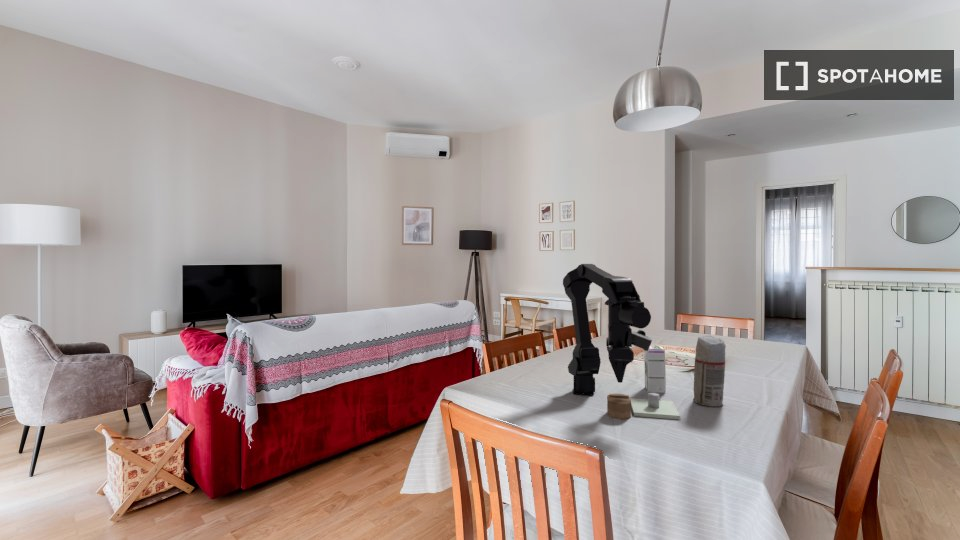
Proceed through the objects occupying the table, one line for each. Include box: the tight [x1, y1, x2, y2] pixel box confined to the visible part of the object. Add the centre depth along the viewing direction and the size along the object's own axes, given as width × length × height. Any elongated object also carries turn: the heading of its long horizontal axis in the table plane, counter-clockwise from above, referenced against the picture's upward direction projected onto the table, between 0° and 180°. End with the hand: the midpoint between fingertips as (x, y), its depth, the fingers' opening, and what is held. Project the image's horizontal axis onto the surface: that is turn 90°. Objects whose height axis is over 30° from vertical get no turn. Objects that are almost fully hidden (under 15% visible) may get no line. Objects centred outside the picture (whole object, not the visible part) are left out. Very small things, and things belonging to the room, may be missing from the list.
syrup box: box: [643, 344, 667, 394], centre depth 140 cm, size 6×6×14 cm
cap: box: [606, 393, 632, 420], centre depth 119 cm, size 6×6×6 cm
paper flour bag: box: [693, 335, 726, 407], centre depth 128 cm, size 8×8×20 cm
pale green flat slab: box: [631, 392, 681, 420], centre depth 123 cm, size 12×12×4 cm
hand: (618, 377), depth 119 cm, fingers open, 9 cm apart
